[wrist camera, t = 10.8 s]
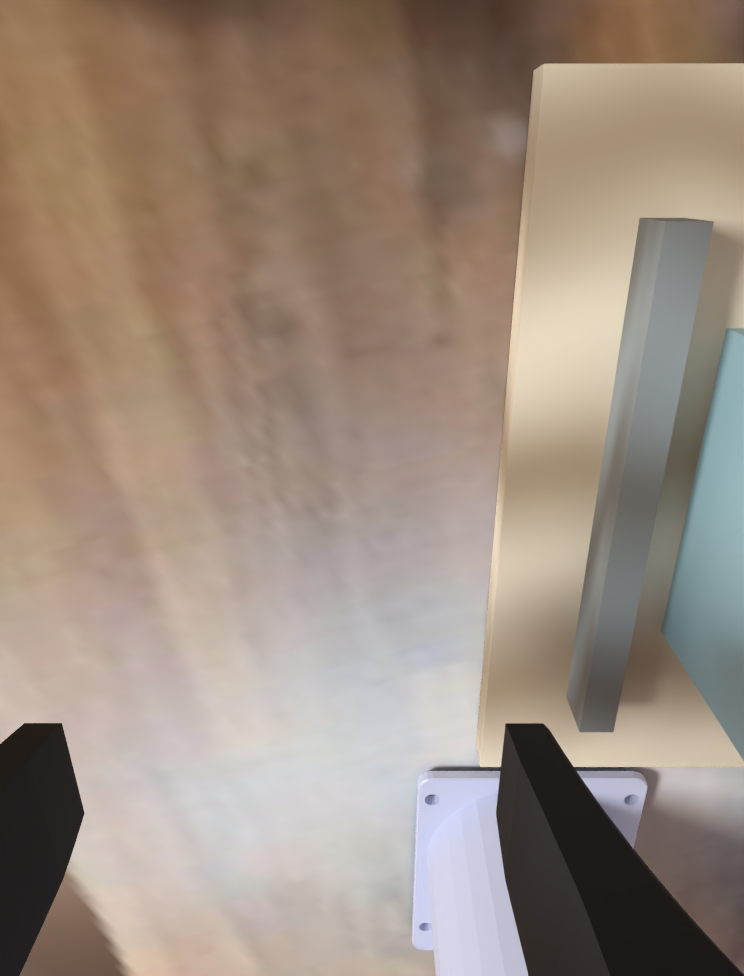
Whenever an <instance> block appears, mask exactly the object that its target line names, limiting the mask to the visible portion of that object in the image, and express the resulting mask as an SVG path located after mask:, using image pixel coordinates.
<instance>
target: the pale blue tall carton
mask: <svg viewBox="0 0 744 976" xmlns="http://www.w3.org/2000/svg"><path fill="white" fill-rule="evenodd" d="M661 632H662V634H663V635H664V637H665V639H666V640H667V642H668V643H669V645H670V646H671V648H672V650H673V651H674V653H675V654H676V656H677V657H678V659H679V661H680V662H681V664H682V665H683V667H684V668H685V670H686V672H687V673H688V675H689V676H690V678H691V679H692V681H693V682H694V684H695V686H696V687H697V689H698V690H699V692H700V693H701V695H702V697H703V698H704V700H705V701H706V703H707V704H708V706H709V708H710V709H711V711H712V712H713V714H714V715H715V717H716V718H717V720H718V722H719V723H720V725H721V726H722V728H723V729H724V731H725V733H726V734H727V736H728V737H729V739H730V740H731V742H732V744H733V745H734V747H735V748H736V750H737V751H738V753H739V755H740V756H741V758H742V759H743V761H744V328H726V332H725V337H724V341H723V346H722V351H721V355H720V360H719V364H718V369H717V374H716V378H715V383H714V388H713V392H712V397H711V402H710V406H709V411H708V416H707V420H706V425H705V429H704V434H703V439H702V443H701V448H700V453H699V457H698V462H697V467H696V471H695V476H694V480H693V485H692V490H691V494H690V499H689V504H688V508H687V513H686V518H685V522H684V527H683V532H682V536H681V541H680V545H679V550H678V555H677V559H676V564H675V569H674V573H673V578H672V583H671V587H670V592H669V596H668V601H667V606H666V610H665V615H664V620H663V624H662V629H661Z"/></svg>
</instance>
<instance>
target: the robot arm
mask: <svg viewBox="0 0 744 976" xmlns="http://www.w3.org/2000/svg"><path fill="white" fill-rule="evenodd" d="M647 790H648V784H647V782H646V780H645V778H644V776H643V775H642V774H641V773H639V772H636V771H576V770H575V768H574V767H573V765H572V764H571V762H570V761H569V759H568V758H567V756H566V755H565V753H564V752H563V750H562V749H561V747H560V745H559V744H558V742H557V741H556V739H555V738H554V736H553V734H552V733H551V731H550V730H549V728H548V727H547V726H545V725H544V724H543V723H506V724H505V733H504V743H503V752H502V761H501V770H500V771H428V772H425V773H423V774H422V775H421V776H420V777H419V779H418V786H417V813H416V839H415V865H414V891H413V917H412V943H413V945H414V946H415V947H416V948H418V949H421V950H434V959H435V972H436V976H744V974H743V973H742V972H741V971H740V970H739V969H738V968H737V967H736V966H735V965H734V964H733V963H732V962H731V961H730V960H729V958H728V957H727V956H726V955H725V954H724V953H723V952H722V951H721V950H720V949H719V948H718V947H717V946H716V945H715V944H714V943H713V941H712V940H711V939H710V938H709V937H708V936H707V935H706V934H705V933H704V932H703V931H702V929H701V928H700V927H699V926H698V925H697V924H696V923H695V922H694V921H693V919H692V918H691V917H690V916H689V915H688V914H687V913H686V911H685V910H684V909H683V908H682V907H681V906H680V905H679V903H678V902H677V901H676V900H675V899H674V898H673V896H672V895H671V894H670V893H669V892H668V890H667V889H666V888H665V887H664V886H663V884H662V883H661V882H660V881H659V880H658V878H657V877H656V876H655V875H654V874H653V873H652V871H651V870H650V869H649V868H648V866H647V865H646V864H645V863H644V861H643V860H642V859H641V858H640V856H639V855H638V854H637V853H636V851H635V850H634V845H635V841H636V836H637V832H638V828H639V824H640V819H641V815H642V811H643V807H644V802H645V798H646V794H647ZM432 794H433V796H429V795H432ZM628 795H629V796H628ZM83 816H84V810H83V806H82V802H81V798H80V794H79V790H78V786H77V782H76V778H75V774H74V770H73V766H72V762H71V758H70V754H69V750H68V746H67V742H66V738H65V734H64V730H63V726H62V723H24V724H23V725H22V726H21V727H20V728H18V729H17V730H16V731H15V732H14V733H13V734H11V735H10V736H9V737H8V738H7V739H6V740H5V741H3V742H2V743H1V744H0V976H19V975H20V973H21V971H22V969H23V966H24V964H25V962H26V960H27V958H28V956H29V953H30V951H31V949H32V947H33V945H34V943H35V940H36V938H37V936H38V934H39V932H40V929H41V927H42V925H43V923H44V921H45V918H46V916H47V914H48V911H49V909H50V907H51V905H52V903H53V901H54V898H55V896H56V894H57V892H58V889H59V887H60V885H61V882H62V880H63V877H64V875H65V872H66V869H67V866H68V863H69V860H70V857H71V854H72V851H73V848H74V845H75V842H76V838H77V835H78V832H79V829H80V826H81V822H82V819H83Z"/></svg>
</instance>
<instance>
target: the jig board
mask: <svg viewBox="0 0 744 976" xmlns="http://www.w3.org/2000/svg"><path fill="white" fill-rule="evenodd" d="M726 328H744V64H543V65H541V66H540V67H538V68H537V69H535V70H534V71H533V83H532V94H531V106H530V118H529V130H528V141H527V153H526V165H525V177H524V188H523V200H522V212H521V224H520V235H519V247H518V259H517V270H516V282H515V294H514V306H513V317H512V329H511V341H510V353H509V364H508V376H507V388H506V400H505V411H504V423H503V435H502V447H501V458H500V470H499V482H498V493H497V505H496V517H495V529H494V540H493V552H492V564H491V576H490V587H489V599H488V611H487V623H486V634H485V646H484V658H483V670H482V681H481V693H480V705H479V716H478V728H477V740H476V746H477V751H478V757H479V762H480V767H501V761H502V752H503V743H504V733H505V724H506V723H543V724H544V725H545V726H547V727H548V728H549V730H550V731H551V733H552V734H553V736H554V738H555V739H556V741H557V742H558V744H559V745H560V747H561V749H562V750H563V752H564V753H565V755H566V756H567V758H568V759H569V761H570V762H571V764H572V765H573V767H744V761H743V759H742V758H741V756H740V755H739V753H738V751H737V750H736V748H735V747H734V745H733V744H732V742H731V740H730V739H729V737H728V736H727V734H726V733H725V731H724V729H723V728H722V726H721V725H720V723H719V722H718V720H717V718H716V717H715V715H714V714H713V712H712V711H711V709H710V708H709V706H708V704H707V703H706V701H705V700H704V698H703V697H702V695H701V693H700V692H699V690H698V689H697V687H696V686H695V684H694V682H693V681H692V679H691V678H690V676H689V675H688V673H687V672H686V670H685V668H684V667H683V665H682V664H681V662H680V661H679V659H678V657H677V656H676V654H675V653H674V651H673V650H672V648H671V646H670V645H669V643H668V642H667V640H666V639H665V637H664V635H663V634H662V632H661V629H662V624H663V620H664V615H665V610H666V606H667V601H668V596H669V592H670V587H671V583H672V578H673V573H674V569H675V564H676V559H677V555H678V550H679V545H680V541H681V536H682V532H683V527H684V522H685V518H686V513H687V508H688V504H689V499H690V494H691V490H692V485H693V480H694V476H695V471H696V467H697V462H698V457H699V453H700V448H701V443H702V439H703V434H704V429H705V425H706V420H707V416H708V411H709V406H710V402H711V397H712V392H713V388H714V383H715V378H716V374H717V369H718V364H719V360H720V355H721V351H722V346H723V341H724V337H725V332H726Z"/></svg>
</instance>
